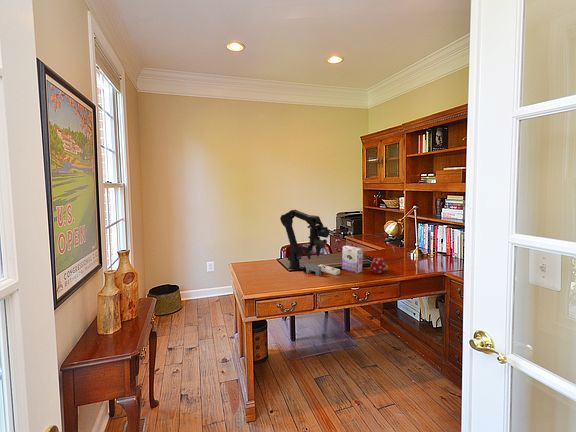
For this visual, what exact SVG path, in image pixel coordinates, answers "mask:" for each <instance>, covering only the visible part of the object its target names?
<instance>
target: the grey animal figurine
mask: <svg viewBox="0 0 576 432" xmlns="http://www.w3.org/2000/svg"><path fill="white" fill-rule="evenodd" d="M305 270H306V271H305V272H306V273H307V274H311V273H312V272H315V276H316V277H320V276H321V274H322V272H321V267H320V266H318V265H316V264H312V263H309V262H308V263H305Z"/></svg>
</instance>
